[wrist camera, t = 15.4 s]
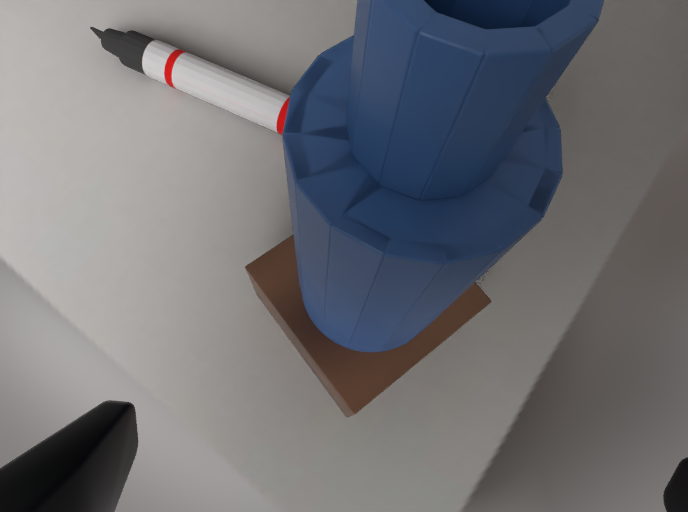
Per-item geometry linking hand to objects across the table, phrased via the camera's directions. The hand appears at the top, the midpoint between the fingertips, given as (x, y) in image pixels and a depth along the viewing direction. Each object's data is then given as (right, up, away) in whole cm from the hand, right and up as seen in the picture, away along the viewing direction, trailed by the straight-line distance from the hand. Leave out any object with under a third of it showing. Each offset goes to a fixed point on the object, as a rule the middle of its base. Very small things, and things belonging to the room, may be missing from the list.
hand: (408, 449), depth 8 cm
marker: (-8, +12, +18) cm, 23 cm away
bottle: (0, +2, +11) cm, 11 cm away
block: (0, +1, +14) cm, 14 cm away
